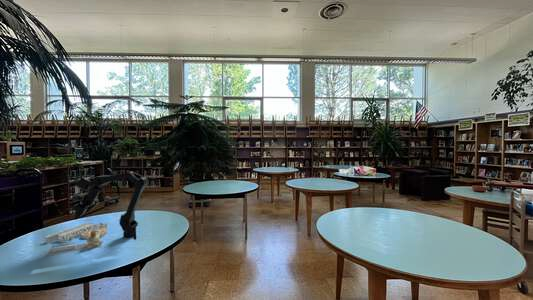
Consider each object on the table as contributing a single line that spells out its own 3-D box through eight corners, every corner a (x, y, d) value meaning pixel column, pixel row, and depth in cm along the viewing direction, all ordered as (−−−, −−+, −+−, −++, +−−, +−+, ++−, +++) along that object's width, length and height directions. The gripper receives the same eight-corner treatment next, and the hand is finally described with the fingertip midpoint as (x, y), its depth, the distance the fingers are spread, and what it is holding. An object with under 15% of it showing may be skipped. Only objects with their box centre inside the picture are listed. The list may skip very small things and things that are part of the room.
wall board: (103, 243, 144) (103, 237, 144) (100, 249, 135) (100, 243, 135) (51, 251, 134) (51, 245, 133) (44, 259, 125) (44, 252, 125)
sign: (89, 221, 175) (125, 224, 168) (89, 227, 175) (125, 229, 169) (43, 237, 145) (84, 241, 139) (43, 244, 145) (85, 248, 139)
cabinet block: (99, 242, 142) (99, 229, 142) (98, 246, 137) (97, 232, 136) (89, 244, 140) (89, 230, 139) (87, 248, 134) (86, 233, 134)
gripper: (87, 185, 158) (75, 206, 158) (69, 192, 139) (56, 216, 139) (104, 192, 160) (92, 213, 160) (89, 201, 142) (76, 224, 142)
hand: (80, 216), depth 150 cm, fingers open, 9 cm apart
